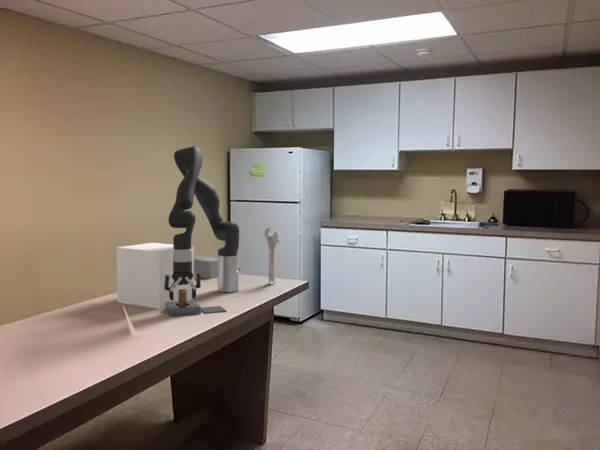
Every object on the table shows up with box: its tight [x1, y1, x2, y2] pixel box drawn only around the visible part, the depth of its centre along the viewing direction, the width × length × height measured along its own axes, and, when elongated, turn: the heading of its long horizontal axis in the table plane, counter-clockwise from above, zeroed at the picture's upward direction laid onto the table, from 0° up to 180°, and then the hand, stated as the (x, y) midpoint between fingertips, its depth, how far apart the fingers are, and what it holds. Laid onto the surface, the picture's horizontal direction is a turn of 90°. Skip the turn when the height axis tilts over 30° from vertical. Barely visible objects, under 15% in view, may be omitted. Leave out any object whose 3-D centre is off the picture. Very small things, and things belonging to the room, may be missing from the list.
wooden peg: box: [179, 289, 187, 306], centre depth 213 cm, size 3×3×9 cm
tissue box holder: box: [194, 254, 241, 280], centre depth 295 cm, size 25×23×11 cm
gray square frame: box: [164, 299, 202, 317], centre depth 214 cm, size 12×12×3 cm
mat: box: [201, 305, 227, 315], centre depth 217 cm, size 9×9×1 cm
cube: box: [116, 242, 195, 310], centre depth 232 cm, size 25×21×24 cm
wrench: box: [264, 227, 281, 285], centre depth 267 cm, size 8×2×30 cm, turn 70°
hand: (182, 299), depth 213 cm, fingers open, 8 cm apart
